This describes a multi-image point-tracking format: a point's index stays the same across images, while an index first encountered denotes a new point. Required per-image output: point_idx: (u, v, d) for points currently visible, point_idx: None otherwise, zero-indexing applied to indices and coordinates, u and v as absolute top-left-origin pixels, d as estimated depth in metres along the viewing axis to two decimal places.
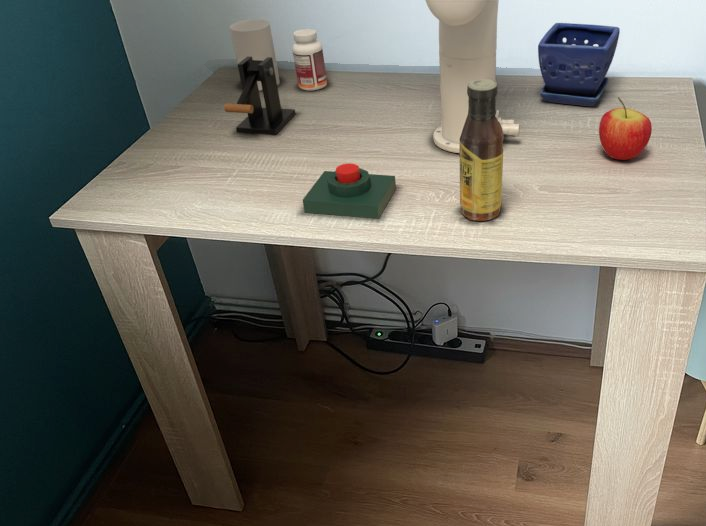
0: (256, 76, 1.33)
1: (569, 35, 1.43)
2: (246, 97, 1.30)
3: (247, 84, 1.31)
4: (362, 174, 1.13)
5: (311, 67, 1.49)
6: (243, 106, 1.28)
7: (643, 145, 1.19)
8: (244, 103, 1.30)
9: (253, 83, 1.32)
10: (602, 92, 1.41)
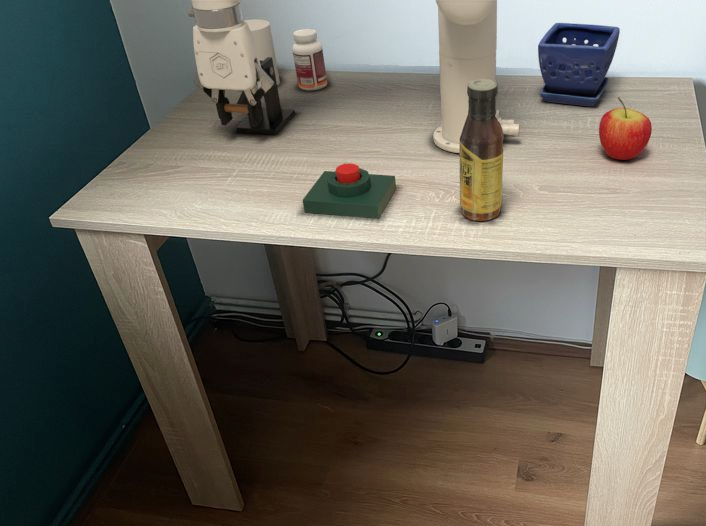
0: None
1: (569, 35, 1.43)
2: (246, 97, 1.30)
3: None
4: (362, 174, 1.13)
5: (311, 67, 1.49)
6: (243, 106, 1.28)
7: (643, 145, 1.19)
8: (244, 103, 1.30)
9: None
10: (602, 92, 1.41)
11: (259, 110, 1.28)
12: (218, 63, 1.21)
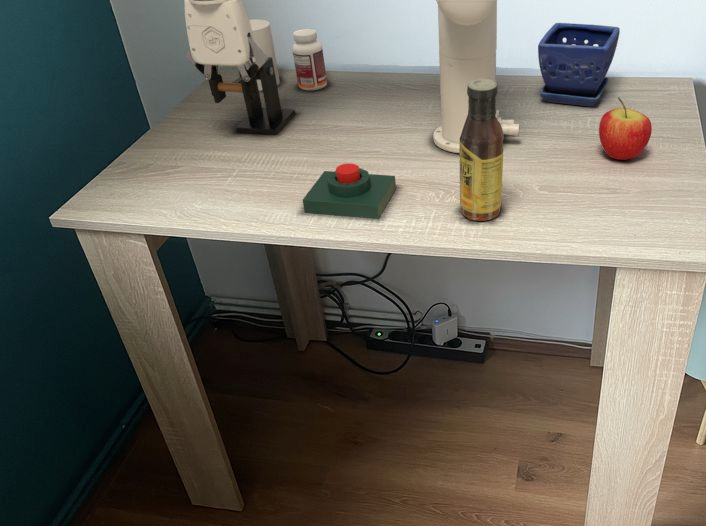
0: None
1: (569, 35, 1.43)
2: None
3: None
4: (362, 174, 1.13)
5: (311, 67, 1.49)
6: (237, 84, 1.25)
7: (643, 145, 1.19)
8: None
9: None
10: (602, 92, 1.41)
11: (253, 87, 1.25)
12: (210, 38, 1.18)
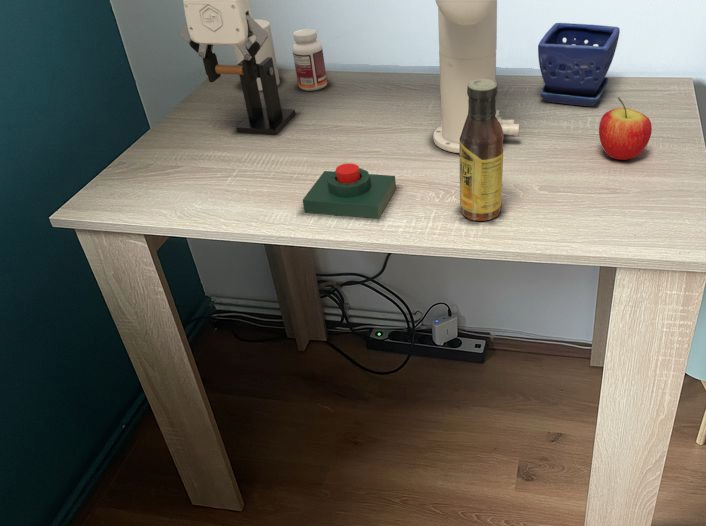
0: None
1: (569, 35, 1.43)
2: None
3: None
4: (362, 174, 1.13)
5: (311, 67, 1.49)
6: (236, 65, 1.24)
7: (643, 145, 1.19)
8: None
9: None
10: (602, 92, 1.41)
11: (254, 66, 1.23)
12: (208, 16, 1.17)
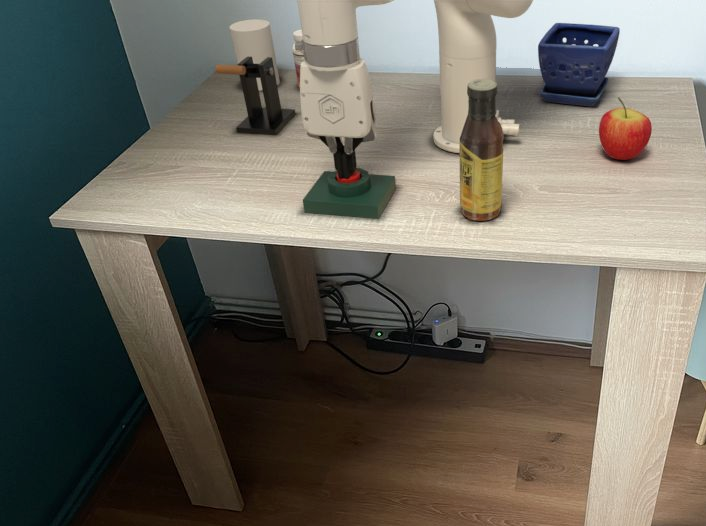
0: (255, 69, 1.32)
1: (569, 35, 1.43)
2: None
3: None
4: (362, 174, 1.13)
5: None
6: (236, 65, 1.24)
7: (643, 145, 1.19)
8: None
9: (250, 70, 1.30)
10: (602, 92, 1.41)
11: (354, 159, 1.10)
12: (328, 107, 1.03)
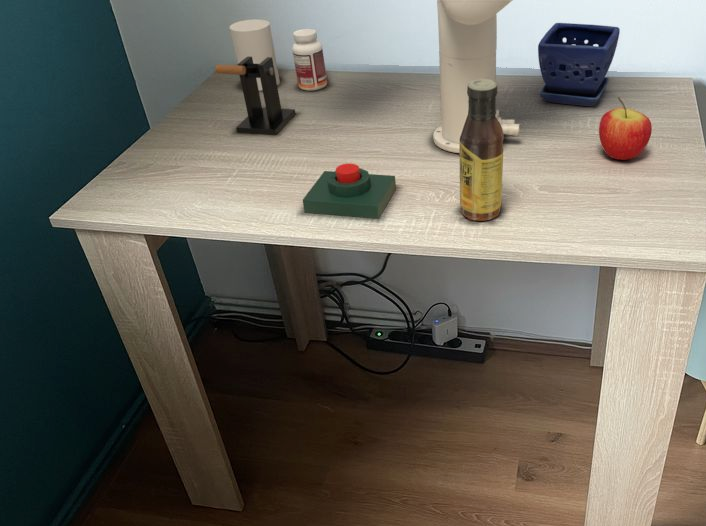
0: (255, 69, 1.32)
1: (569, 35, 1.43)
2: None
3: None
4: (362, 174, 1.13)
5: (311, 67, 1.49)
6: (236, 65, 1.24)
7: (643, 145, 1.19)
8: None
9: (250, 70, 1.30)
10: (602, 92, 1.41)
11: None
12: None
